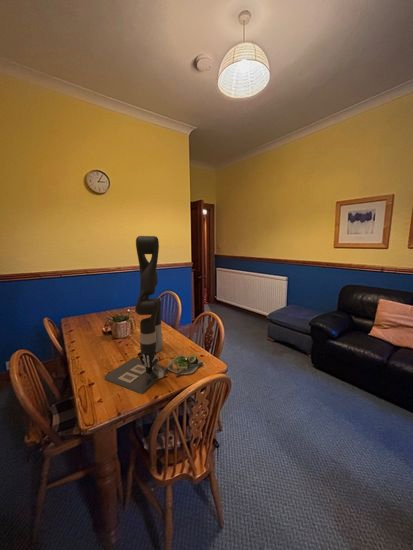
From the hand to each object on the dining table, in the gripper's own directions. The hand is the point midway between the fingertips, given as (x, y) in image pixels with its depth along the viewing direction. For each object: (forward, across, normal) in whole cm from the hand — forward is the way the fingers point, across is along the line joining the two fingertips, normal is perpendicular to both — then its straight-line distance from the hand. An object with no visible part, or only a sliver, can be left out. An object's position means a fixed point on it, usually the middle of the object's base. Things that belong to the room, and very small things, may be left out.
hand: (149, 372), depth 114 cm
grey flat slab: (+4, +8, 0) cm, 9 cm away
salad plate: (+4, -9, -19) cm, 22 cm away
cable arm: (-1, +1, -4) cm, 4 cm away
